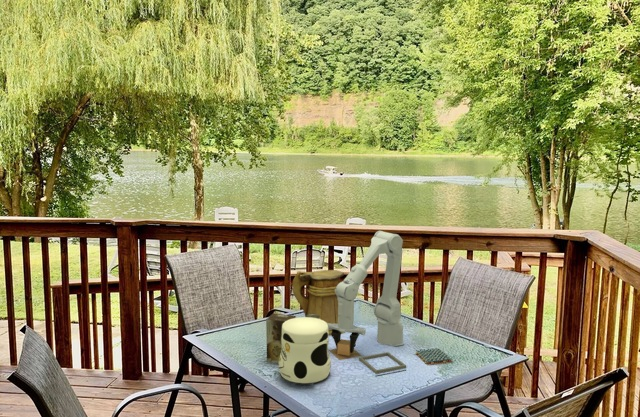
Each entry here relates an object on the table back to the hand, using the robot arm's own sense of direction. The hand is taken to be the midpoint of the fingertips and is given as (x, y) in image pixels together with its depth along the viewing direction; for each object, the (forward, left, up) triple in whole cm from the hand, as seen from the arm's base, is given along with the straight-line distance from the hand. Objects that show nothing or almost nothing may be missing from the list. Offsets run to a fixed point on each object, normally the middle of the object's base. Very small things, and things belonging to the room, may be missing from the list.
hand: (345, 350), depth 187 cm
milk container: (+20, +10, -2) cm, 22 cm away
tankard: (-2, -27, -2) cm, 27 cm away
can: (+8, -12, -2) cm, 15 cm away
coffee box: (+23, -5, -2) cm, 24 cm away
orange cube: (0, 0, -1) cm, 1 cm away
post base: (0, 0, -2) cm, 2 cm away
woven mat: (-29, +14, -3) cm, 32 cm away
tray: (-8, +13, -2) cm, 15 cm away
